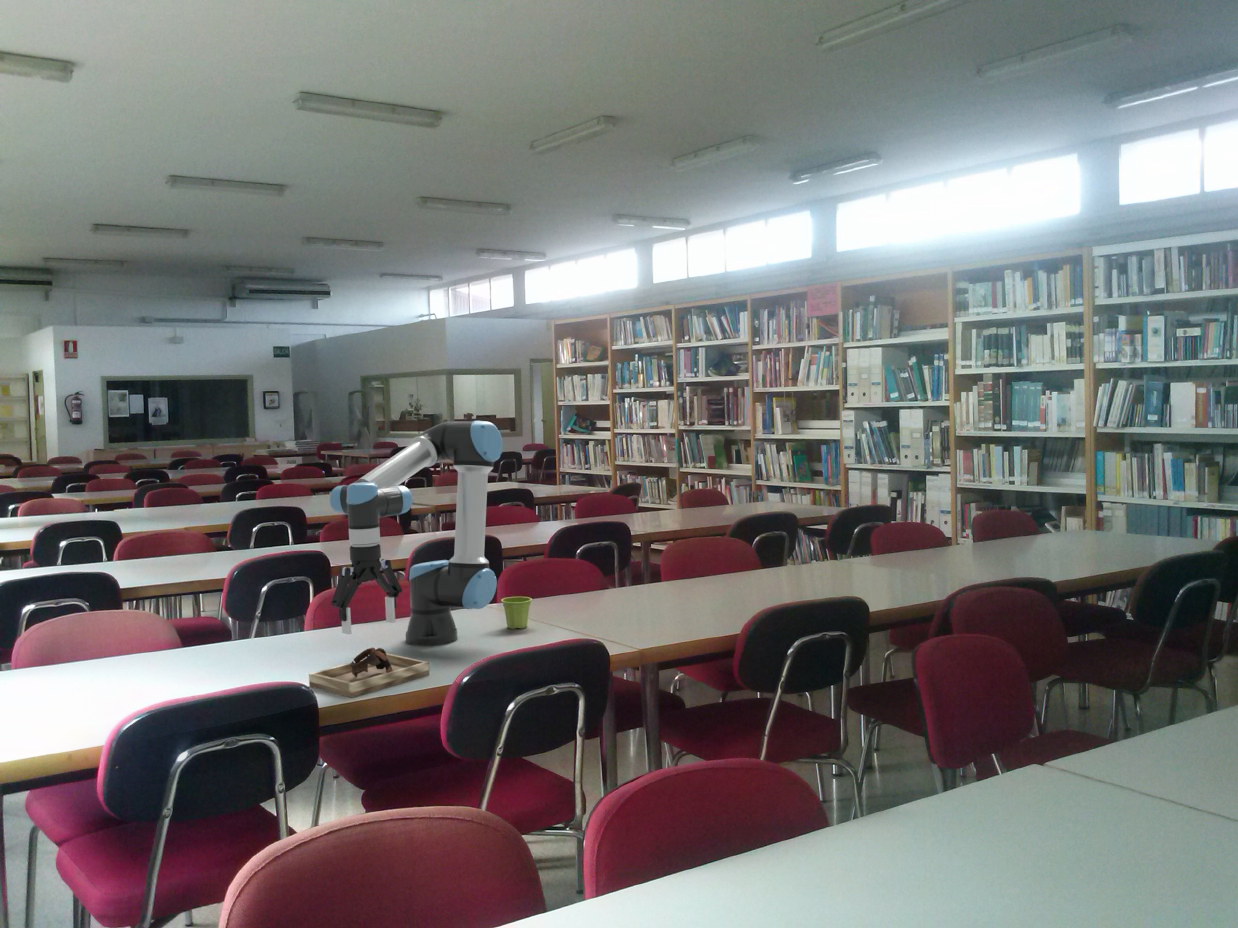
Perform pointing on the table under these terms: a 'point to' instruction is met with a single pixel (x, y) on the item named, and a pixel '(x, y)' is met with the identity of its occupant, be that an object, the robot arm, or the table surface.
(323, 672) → the wooden tray
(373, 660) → the dark brown arched piece
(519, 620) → the plant pot
